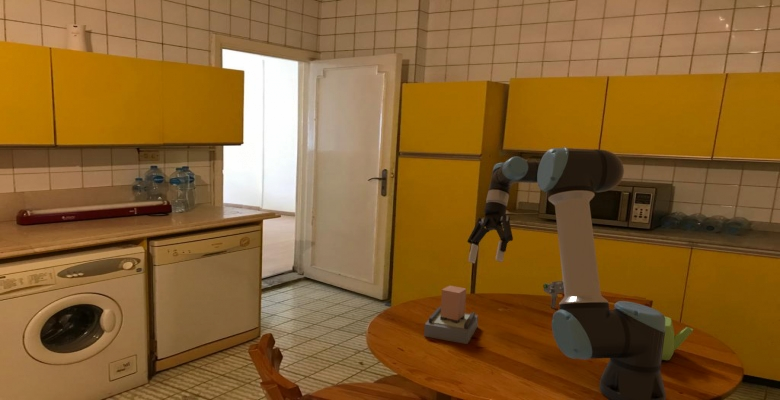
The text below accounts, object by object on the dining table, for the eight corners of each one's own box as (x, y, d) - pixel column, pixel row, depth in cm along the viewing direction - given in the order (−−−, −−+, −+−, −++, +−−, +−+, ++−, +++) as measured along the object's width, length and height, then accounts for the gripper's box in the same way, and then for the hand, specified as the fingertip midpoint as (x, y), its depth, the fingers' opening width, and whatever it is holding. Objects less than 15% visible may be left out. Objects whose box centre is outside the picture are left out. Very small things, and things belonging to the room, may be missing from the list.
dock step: (467, 344, 156) (468, 327, 156) (424, 336, 161) (424, 319, 160) (477, 326, 171) (478, 311, 170) (437, 320, 176) (438, 304, 175)
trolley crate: (447, 314, 170) (449, 285, 168) (464, 318, 167) (466, 288, 165) (440, 319, 165) (441, 289, 163) (457, 323, 162) (459, 293, 160)
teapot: (689, 350, 158) (693, 310, 157) (688, 375, 141) (694, 330, 140) (624, 336, 168) (628, 298, 166) (617, 358, 151) (621, 316, 149)
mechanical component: (540, 308, 193) (542, 282, 192) (560, 305, 197) (562, 280, 196) (545, 310, 190) (547, 284, 189) (566, 307, 195) (568, 282, 194)
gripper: (530, 204, 172) (519, 263, 165) (480, 212, 193) (468, 265, 186) (514, 195, 168) (503, 256, 162) (465, 205, 189) (453, 259, 183)
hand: (484, 261), depth 174 cm, fingers open, 13 cm apart
